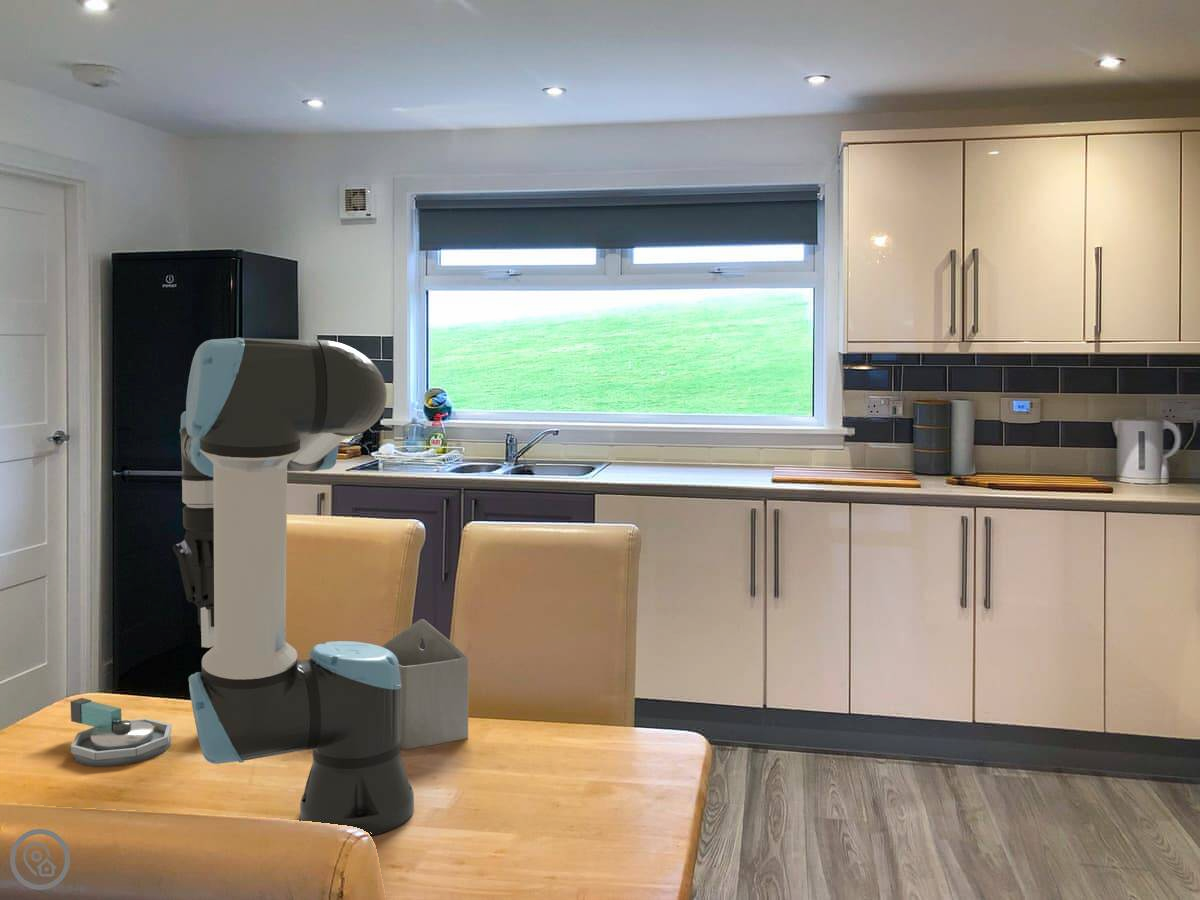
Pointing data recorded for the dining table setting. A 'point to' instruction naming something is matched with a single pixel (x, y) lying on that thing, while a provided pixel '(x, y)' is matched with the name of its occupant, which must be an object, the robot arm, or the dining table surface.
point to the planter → (430, 687)
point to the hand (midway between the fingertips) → (210, 645)
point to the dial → (110, 726)
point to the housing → (103, 758)
